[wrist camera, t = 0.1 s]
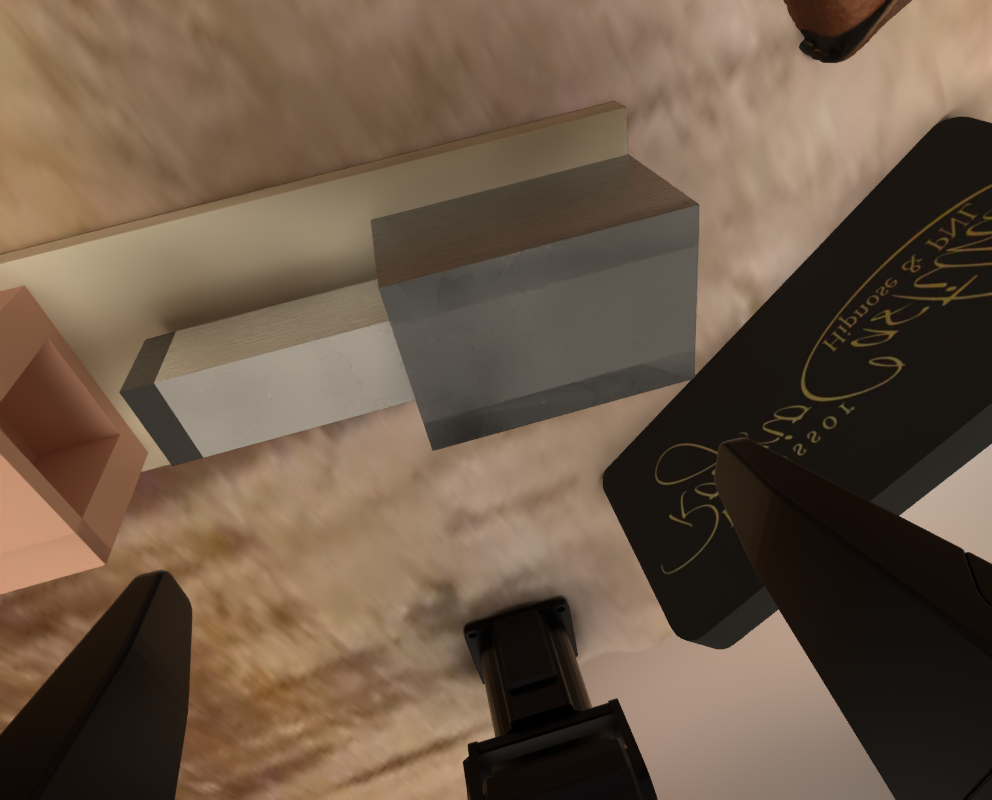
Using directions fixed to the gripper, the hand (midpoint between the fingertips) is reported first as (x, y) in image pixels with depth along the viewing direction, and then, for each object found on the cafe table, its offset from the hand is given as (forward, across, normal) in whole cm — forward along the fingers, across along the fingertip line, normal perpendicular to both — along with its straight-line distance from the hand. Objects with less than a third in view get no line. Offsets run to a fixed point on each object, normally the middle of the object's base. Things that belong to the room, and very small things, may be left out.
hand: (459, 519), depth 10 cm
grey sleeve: (+14, -4, +2) cm, 14 cm away
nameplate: (+15, -15, +8) cm, 23 cm away
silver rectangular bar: (+12, 0, +3) cm, 12 cm away
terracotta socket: (+14, +14, +4) cm, 20 cm away
